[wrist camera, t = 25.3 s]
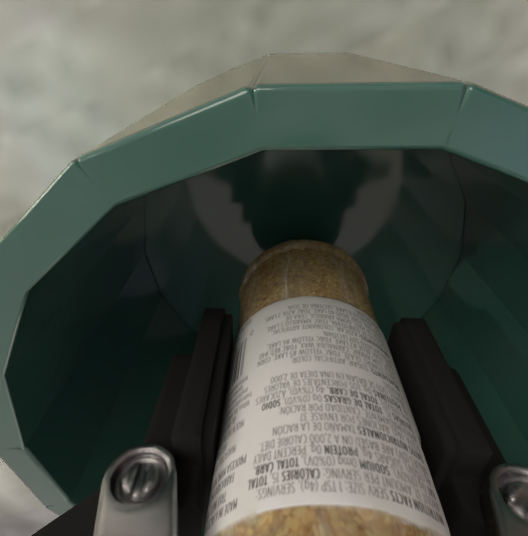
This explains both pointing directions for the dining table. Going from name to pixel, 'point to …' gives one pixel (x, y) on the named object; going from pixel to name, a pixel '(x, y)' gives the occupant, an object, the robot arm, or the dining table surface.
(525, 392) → the canister
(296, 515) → the sprinkles bottle
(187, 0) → the dining table surface
